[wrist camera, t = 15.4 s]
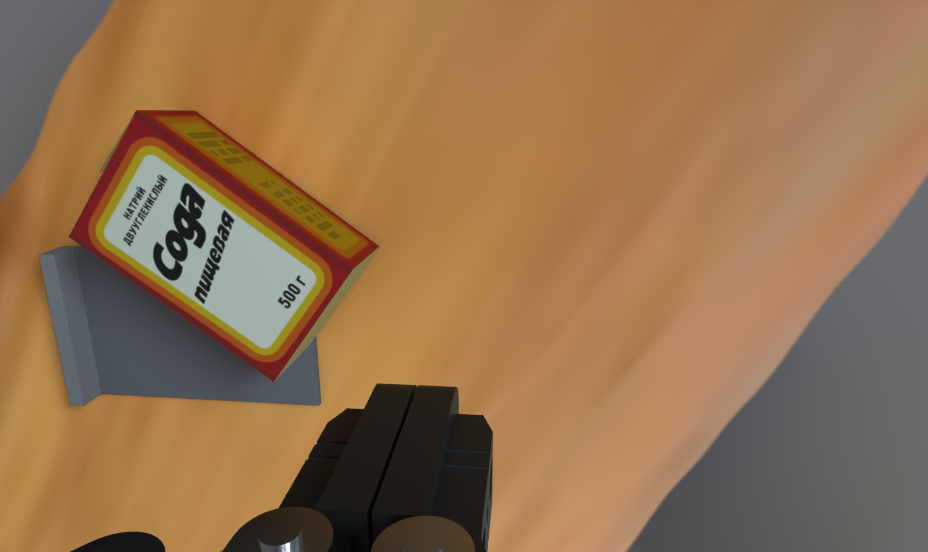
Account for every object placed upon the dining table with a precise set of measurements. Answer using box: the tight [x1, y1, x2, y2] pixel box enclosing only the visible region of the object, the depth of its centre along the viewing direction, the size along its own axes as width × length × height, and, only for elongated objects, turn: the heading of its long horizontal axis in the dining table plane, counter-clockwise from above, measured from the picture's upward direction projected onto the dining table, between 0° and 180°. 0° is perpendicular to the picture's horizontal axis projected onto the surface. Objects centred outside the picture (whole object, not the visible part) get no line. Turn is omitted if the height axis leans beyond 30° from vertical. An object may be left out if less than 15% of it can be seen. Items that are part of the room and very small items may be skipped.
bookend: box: [39, 246, 321, 406], centre depth 47 cm, size 12×19×2 cm, turn 90°
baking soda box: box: [69, 110, 379, 382], centre depth 41 cm, size 10×6×16 cm
